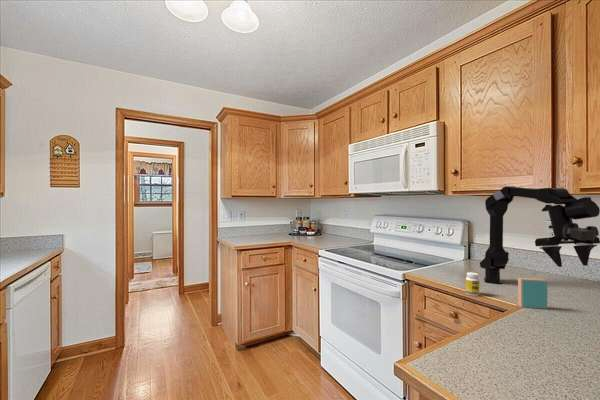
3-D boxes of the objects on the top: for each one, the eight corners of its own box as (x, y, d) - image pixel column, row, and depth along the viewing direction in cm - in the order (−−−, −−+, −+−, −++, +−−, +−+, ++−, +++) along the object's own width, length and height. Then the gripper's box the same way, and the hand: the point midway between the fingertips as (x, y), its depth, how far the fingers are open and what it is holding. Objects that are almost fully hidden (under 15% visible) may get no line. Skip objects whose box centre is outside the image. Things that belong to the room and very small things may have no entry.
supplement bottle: (472, 296, 109) (472, 275, 109) (462, 292, 114) (462, 272, 114) (482, 295, 111) (482, 274, 111) (472, 291, 115) (472, 271, 115)
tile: (518, 305, 100) (518, 277, 100) (543, 306, 99) (543, 278, 99) (521, 307, 98) (521, 279, 98) (548, 309, 96) (547, 280, 96)
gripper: (557, 219, 91) (570, 267, 87) (611, 217, 92) (625, 265, 88) (529, 223, 102) (539, 267, 98) (577, 222, 103) (589, 265, 99)
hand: (572, 266), depth 96 cm, fingers open, 9 cm apart
